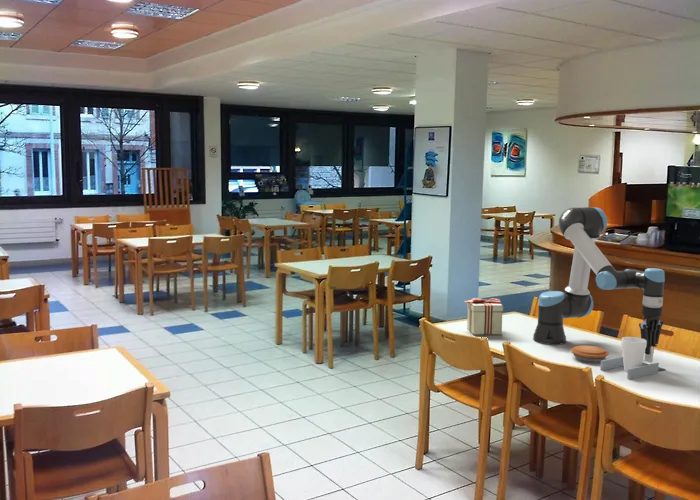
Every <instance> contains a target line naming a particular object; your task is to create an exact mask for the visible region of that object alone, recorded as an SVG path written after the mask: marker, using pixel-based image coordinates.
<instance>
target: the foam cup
mask: <svg viewBox="0 0 700 500" xmlns="http://www.w3.org/2000/svg"><path fill="white" fill-rule="evenodd" d="M646 346H647V341H646V340H645V339H642V338H641V337H637V336H636V337H635V336H623V337H621V348H622V351H621V352H622V356H623V364H624V366H623V371H625V372H626V373H628V369H630V368H634V367H639V366H642V363H644V359H645V349H646Z"/></svg>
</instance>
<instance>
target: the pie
mask: <svg viewBox="0 0 700 500" xmlns="http://www.w3.org/2000/svg"><path fill="white" fill-rule="evenodd" d="M570 351H571V353H572V354H573V356H574V358H575V359H576V360H578V361H580V362H584V363H592V364H593V363H595V364H597V363H601V360H605V358H607V356H608V355H610V353H609V351H607V350H606V349H604V348H602V347H601V346H596V345H587V344H585V345H584V344H583V345H582V344H581V345H576V346H574V347H572V348H570Z"/></svg>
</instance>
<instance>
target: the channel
mask: <svg viewBox="0 0 700 500" xmlns="http://www.w3.org/2000/svg"><path fill="white" fill-rule="evenodd" d="M647 364H648V365H644V366H639V367H634V368H630V369H628V372H627V377H626V378H627V380H632V379H636V378H640V377H644V376H649V375H653V374H657V373H658V374H659V372H658V367H659V362H652V363H650V364H649V363H647ZM619 367H624V364H623V355H621V356H618V357H617V356H616V357H612V358H611V357H610V358H607V359H604V360H601V362H600V371H605V370H611V369H617V368H619Z"/></svg>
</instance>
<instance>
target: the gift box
mask: <svg viewBox="0 0 700 500" xmlns="http://www.w3.org/2000/svg"><path fill="white" fill-rule="evenodd" d="M463 301H464V303H466V304H467V305H466V307H467V319H466V320H467V322H466V323H467V324H466V326H467V327H466V329H467V330H468V331H469V332H470V333H471V334H472V335H475V336H477V335H478V336H483V335H484V336H485V335H486V336H488V335H489V336H490V335H492V336H493V335H496V336H497V335H502V334H503V333H502V332H503V312H504V305H503V304H502V302H501V299H500V298H497V297H492V298H487V299H483V298H480V297H473V298H470V299H469V300H463Z"/></svg>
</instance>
